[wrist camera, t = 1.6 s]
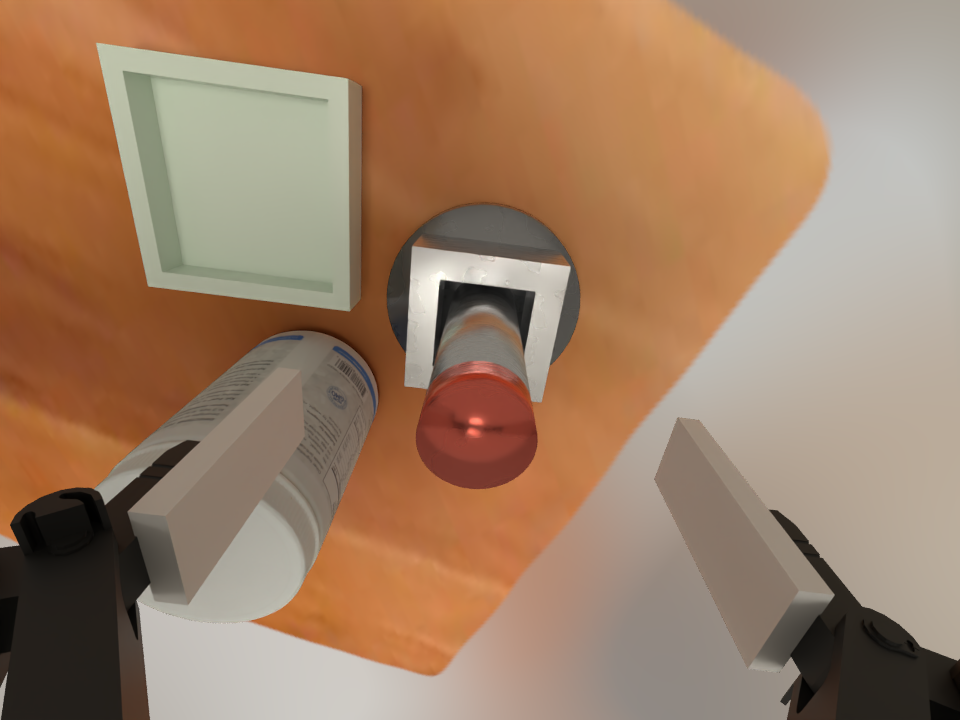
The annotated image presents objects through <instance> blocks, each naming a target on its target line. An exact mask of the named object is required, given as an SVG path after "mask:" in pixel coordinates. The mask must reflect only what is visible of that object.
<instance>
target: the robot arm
mask: <svg viewBox="0 0 960 720" xmlns="http://www.w3.org/2000/svg"><path fill="white" fill-rule="evenodd" d="M304 437H305V430H304V414H303V397H302V381H301V370H297V369H289V368H281V367H278V368H277V369H276V370H275V371H274V372H273V373H272V374H271V375H270V376H269V377H268V378H267V379H266V380H265V381H263V382H262V383H261V384H260V385H259V386H258V387H257V388H256V389H255V390H254V391H253V392H252V393H251V394H250V395H249V396H248V397H247V398H246V399H245V400H244V401H243V402H242V403H240V404H239V405H238V406H237V407H236V408H235V409H234V410H233V411H232V412H231V413H230V414H229V415H228V416H227V417H226V418H225V419H224V420H223V421H222V422H221V423H220V424H219V425H217V426H216V427H215V428H214V429H213V430H212V431H211V432H210V433H209V434H208V435H207V436H206V437H205V438H204V439H203V440H202V441H193V440H186V441H184V442H182V443H180V444H178V445H176V446H174V447H172V448H170V449H168V450H167V451H166V452H164V453H163V454H162V455H161V456H160V457H159V458H158V459H157V460H155V461H154V462H153V463H152V466H149V467H147V468H146V469H145V470H144V471H143V472H142V473H141V474H140V476H139V477H136V478H135V479H134V480H133V481H132V482H131V483H129V484H128V485H127V486H126V487H125V488H124V489H123V490H122V491H120V492H119V493H118V494H117V495H116V496H115V497H114V498H112V499H111V500H110V501H109V502H108V503H107V504H106V505H105V504H104V501H103V498H102V496H101V494H100V492H99V491H96V490H94V489H91V488H71V489H65V490H60V491H57V492H54V493H51V494H49V495H46V496H43V497H41V498H39V499H37V500H36V501H34V502H32V503H30V504H28V505H27V506H25V507H24V508H23V509H22V510H21V511H20V512H18V513H17V514H16V515H15V517H14V519H13V520H12V522H11V524H10V526H11V528H12V530H13V532H14V534H15V537H16V539H17V541H18V543H19V546H12V547H4V548H0V687H1V685H2V683H3V680H4V678H5V676H6V674H7V672H8V675H7V682H6V688H5V696H4V702H3V710H2V716H1V720H150V716H149V706H148V696H147V686H146V675H145V665H144V654H143V644H142V635H141V624H140V613H139V607H138V604H137V601H136V600H137V599H138V598H139V597H140V595H141V594H142V593H143V592H144V590H145V589H146V588H147V587H148V585H150V588H151V591H152V595H153V598H154V601H155V602H164V603H172V604H181V605H189V603H190V602H191V600H192V599H193V598H194V596H195V595H196V593H197V592H198V590H199V589H200V587H201V586H202V584H203V583H204V582H205V580H206V579H207V577H208V576H209V574H210V573H211V571H212V570H213V569H214V567H215V566H216V564H217V563H218V561H219V560H220V558H221V557H222V556H223V554H224V553H225V551H226V550H227V548H228V547H229V545H230V544H231V542H232V541H233V540H234V538H235V537H236V535H237V534H238V532H239V531H240V529H241V528H242V527H243V525H244V524H245V522H246V521H247V519H248V518H249V516H250V515H251V514H252V512H253V511H254V509H255V508H256V506H257V505H258V503H259V502H260V500H261V499H262V498H263V496H264V495H265V493H266V492H267V490H268V489H269V487H270V486H271V485H272V483H273V482H274V480H275V479H276V477H277V476H278V474H279V473H280V472H281V470H282V469H283V467H284V466H285V464H286V463H287V461H288V460H289V458H290V457H291V456H292V454H293V453H294V451H295V450H296V448H297V447H298V445H299V444H300V443H301V441H302V440H303V438H304ZM655 481H656V483H657V486H658V487H659V489H660V492H661V494H662V495H663V497H664V499H665V502H666V504H667V506H668V508H669V510H670V512H671V514H672V516H673V518H674V520H675V522H676V524H677V526H678V528H679V530H680V532H681V534H682V536H683V538H684V540H685V542H686V544H687V546H688V549H689V550H690V553H691V555H692V557H693V559H694V561H695V562H696V565H697V567H698V569H699V571H700V573H701V575H702V577H703V579H704V581H705V583H706V585H707V587H708V589H709V591H710V593H711V595H712V597H713V599H714V601H715V603H716V605H717V607H718V610H719V611H720V613H721V616H722V618H723V620H724V622H725V624H726V626H727V628H728V630H729V632H730V634H731V636H732V638H733V640H734V642H735V644H736V646H737V648H738V650H739V652H740V654H741V656H742V658H743V660H744V662H745V664H746V666H747V668H748V669H753V670H762V671H771V672H780V671H781V669H782V668H783V667H784V666H785V664H786V662H787V661H788V660H789V658H790V657H792V659H793V661H794V662H795V664H796V666H797V667H798V669H799V671H800V672H801V674H800V675H799V676H798V678H797V679H796V680H795V682H794V683H793V684H792V686H791V687H790V688H789V690H788V691H787V692H786V694H785V695H784V696H783V698H782V700H781V702H782V703H783V704H784V705H786V704H787V703H788V702H789V700H791V702H790V707H789V712H788V717H787V720H960V659H959V660H958V661H957V660H954V659H951V658H948V657H946V656H943V655H940V654H938V653H935V652H932V651H930V650H927V649H925V648H922V647H920V646H919V645H918V643H917V642H916V641H915V639H914V638H913V637H912V636H911V635H910V634H909V633H908V632H907V631H906V630H905V629H903V628H902V627H901V626H900V625H899V624H897V623H896V622H894V621H893V620H891V619H890V618H888V617H887V616H885V615H883V614H881V613H879V612H877V611H875V610H872V609H870V608H865V607H862V606H861V605H860V603H859V602H858V601H857V600H856V599H855V597H854V596H853V595H852V594H851V593H850V591H849V590H848V589H847V588H846V586H845V585H844V584H843V583H842V581H841V580H840V579H839V578H838V576H837V575H836V574H835V573H834V572H833V570H832V569H831V568H830V567H829V565H828V564H827V563H826V562H825V561H824V559H823V558H820V556H819V555H820V554H819V553H818V552H817V551H816V550H815V548H814V547H813V546H812V545H811V544H809V541H808V540H807V538H806V537H805V536H804V535H803V534H802V532H801V531H800V530H799V529H798V527H797V526H796V525H795V524H794V523H792V522H791V521H790V520H789V519H787V518H786V517H785V516H784V515H782V514H781V513H780V512H779V511H777V510H769V509H768V508H767V507H766V506H765V504H764V503H763V502H762V501H761V499H760V498H759V497H758V495H757V494H756V493H755V491H754V490H753V489H752V488H751V486H750V485H749V484H748V483H747V481H746V480H745V479H744V477H743V476H742V475H741V473H740V472H739V471H738V469H737V468H736V467H735V466H734V464H733V463H732V462H731V461H730V459H729V458H728V457H727V455H726V454H725V453H724V451H723V450H722V449H721V448H720V446H719V445H718V444H717V442H716V441H715V440H714V439H713V437H712V436H711V435H710V433H709V432H708V431H707V429H706V428H705V427H704V426H703V424H702V423H701V422H700V421H699V420H694V419H686V418H677V421H676V423H675V426H674V429H673V431H672V434H671V437H670V439H669V442H668V444H667V447H666V450H665V452H664V455H663V458H662V460H661V463H660V466H659V469H658V471H657V473H656V476H655Z"/></svg>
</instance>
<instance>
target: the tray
mask: <svg viewBox="0 0 960 720" xmlns="http://www.w3.org/2000/svg"><path fill="white" fill-rule="evenodd" d="M96 44H97V49H98V54H99V58H100V63H101V68H102V72H103V77H104V82H105V86H106V91H107V96H108V101H109V105H110V110H111V115H112V119H113V124H114V129H115V133H116V138H117V143H118V147H119V152H120V157H121V161H122V166H123V171H124V175H125V180H126V185H127V189H128V194H129V199H130V203H131V208H132V213H133V217H134V222H135V227H136V232H137V236H138V241H139V246H140V250H141V255H142V260H143V264H144V269H145V274H146V278H147V283H148V286H149V287H158V288H166V289H174V290H182V291H190V292H198V293H206V294H214V295H222V296H230V297H238V298H246V299H254V300H262V301H270V302H278V303H286V304H294V305H303V306H311V307H319V308H327V309H335V310H343V311H351V309H352V308H353V307H354V306H355V305H356V304H357V303H358V302H359V301H360V300H361V197H362V86H361V85H359V84H357V83H355V82H354V81H352V80H350V79H348V78H341V77H334V76H326V75H319V74H312V73H305V72H298V71H291V70H284V69H277V68H270V67H263V66H256V65H249V64H242V63H235V62H228V61H221V60H214V59H207V58H200V57H193V56H186V55H179V54H172V53H165V52H158V51H151V50H144V49H137V48H129V47H122V46H115V45H108V44H101V43H96Z"/></svg>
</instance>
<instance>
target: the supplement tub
mask: <svg viewBox="0 0 960 720" xmlns="http://www.w3.org/2000/svg"><path fill="white" fill-rule="evenodd" d="M278 367H281V368H289V369H297V370H301V381H302V397H303V414H304V430H305V437H304V438H303V440H302V441H301V443H300V444H299V445H298V447H297V448H296V450H295V451H294V453H293V454H292V456H291V457H290V458H289V460H288V461H287V463H286V464H285V466H284V467H283V469H282V470H281V472H280V473H279V474H278V476H277V477H276V479H275V480H274V482H273V483H272V485H271V486H270V487H269V489H268V490H267V492H266V493H265V495H264V496H263V498H262V499H261V500H260V502H259V503H258V505H257V506H256V508H255V509H254V511H253V512H252V514H251V515H250V516H249V518H248V519H247V521H246V522H245V524H244V525H243V527H242V528H241V529H240V531H239V532H238V534H237V535H236V537H235V538H234V540H233V541H232V542H231V544H230V545H229V547H228V548H227V550H226V551H225V553H224V554H223V556H222V557H221V558H220V560H219V561H218V563H217V564H216V566H215V567H214V569H213V570H212V571H211V573H210V574H209V576H208V577H207V579H206V580H205V582H204V583H203V584H202V586H201V587H200V589H199V590H198V592H197V593H196V595H195V596H194V598H193V599H192V600H191V602H190V603H189V605H181V604H172V603H164V602H155V601H154V598H153V595H152V591H151V588H150V585H148V587H147V588H146V589H145V590H144V592H143V593H142V594H141V595H140V597H139V598H138V599H137V601H139V602H141V603H143V604H145V605H147V606H149V607H151V608H153V609H156V610H158V611H161V612H163V613H166V614H169V615H173V616H177V617H180V618H184V619H188V620H194V621H199V622H208V623H237V622H245V621H250V620H255V619H258V618H261V617H264V616H267V615H269V614H271V613H273V612H275V611H277V610H279V609H281V608H282V607H283V606H285V605H286V604H287V603H288V602H290V601H291V600H292V598H293V597H294V596H295V595H296V594H297V592H298V591H299V589H300V587H301V586H302V583H303V581H304V579H305V577H306V575H307V573H308V572H309V570H310V569H311V568H312V566H313V564H314V562H315V560H316V558H317V555H318V553H319V551H320V549H321V546H322V544H323V541H324V539H325V537H326V535H327V532H328V530H329V527H330V525H331V522H332V520H333V518H334V515H335V513H336V510H337V508H338V505H339V503H340V500H341V498H342V496H343V493H344V491H345V488H346V486H347V483H348V481H349V479H350V476H351V474H352V471H353V469H354V467H355V464H356V462H357V459H358V457H359V454H360V452H361V450H362V447H363V444H364V442H365V439H366V437H367V434H368V432H369V429H370V427H371V425H372V422H373V420H374V417H375V415H376V411H377V406H378V390H377V385H376V381H375V378H374V376H373V374H372V372H371V370H370V368H369V366H368V365H367V363H366V362H365V361H364V359H363V358H362V357H361V356H360V355H359V354H358V353H357V352H356V351H355V350H353V349H352V348H351V347H350V346H348V345H347V344H345V343H344V342H342V341H340V340H338V339H336V338H334V337H332V336H329V335H326V334H323V333H319V332H314V331H289V332H283V333H279V334H276V335H274V336H271V337H269V338H267V339H266V340H264V341H262V342H261V343H260V344H258V345H257V346H256V347H255V348H253V349H252V350H251V351H250V352H248V353H247V354H246V355H245V356H244V357H242V358H241V359H240V360H239V361H238V362H237V363H235V364H234V365H233V366H232V367H231V368H230V369H228V370H227V371H226V372H225V373H224V374H222V375H221V376H220V377H219V378H218V379H216V380H215V381H214V382H213V383H212V384H211V385H209V386H208V387H207V388H206V389H205V390H203V391H202V392H201V393H200V394H199V395H198V396H196V397H195V398H194V399H193V400H192V401H190V402H189V403H188V404H187V405H186V406H184V407H183V408H182V409H181V410H180V411H179V412H177V413H176V414H175V415H174V416H173V417H171V418H170V419H169V420H168V421H167V422H166V423H164V424H163V425H162V426H161V427H160V428H158V429H157V430H156V431H155V432H154V433H152V434H151V435H150V436H149V437H148V438H146V439H145V440H144V441H143V442H142V443H141V444H140V445H138V446H137V447H136V448H135V449H134V450H133V451H132V452H130V453H129V454H128V455H127V456H126V457H125V458H124V459H123V460H122V461H120V462H119V463H118V464H117V465H116V466H115V467H114V468H113V470H112V471H111V472H110V474H109V475H108V477H107V478H105V479H104V480H103V481H102V482H101V483H100V484H99V485H98V486H97V487H96V488H95V489H94V490H96V491H99V492H100V494H101V496H102V498H103V501H104V504H105V505H106V504H107V503H108V502H109V501H110V500H111V499H112V498H114V497H115V496H116V495H117V494H118V493H119V492H120V491H122V490H123V489H124V488H125V487H126V486H127V485H128V484H129V483H131V482H132V481H133V480H134V479H135V478H136V477H139V476H140V474H141V473H142V472H143V471H144V470H145V469H146V468H147V467H149V466H152V463H153V462H154V461H155V460H157V459H158V458H159V457H160V456H161V455H162V454H163V453H164V452H166V451H167V450H168V449H170V448H172V447H174V446H176V445H178V444H180V443H182V442H184V441H186V440H193V441H202V440H203V439H204V438H205V437H206V436H207V435H208V434H209V433H210V432H211V431H212V430H213V429H214V428H215V427H216V426H217V425H219V424H220V423H221V422H222V421H223V420H224V419H225V418H226V417H227V416H228V415H229V414H230V413H231V412H232V411H233V410H234V409H235V408H236V407H237V406H238V405H239V404H240V403H242V402H243V401H244V400H245V399H246V398H247V397H248V396H249V395H250V394H251V393H252V392H253V391H254V390H255V389H256V388H257V387H258V386H259V385H260V384H261V383H262V382H263V381H265V380H266V379H267V378H268V377H269V376H270V375H271V374H272V373H273V372H274V371H275V370H276V369H277V368H278Z"/></svg>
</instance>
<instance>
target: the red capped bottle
mask: <svg viewBox="0 0 960 720" xmlns="http://www.w3.org/2000/svg"><path fill="white" fill-rule="evenodd" d="M416 445H417V449H418V452H419V455H420V457H421V459H422V461H423V462H424V464H425V465H426V466H427V467H428V469H429V470H430V471H431V472H433V473H434V474H435V475H436V476H438V477H439V478H441V479H442V480H444V481H446V482H448V483H450V484H453V485H456V486H459V487H463V488H470V489H486V488H492V487H496V486H500V485H503V484H505V483H507V482H509V481H511V480H513V479H515V478H516V477H518V476H519V475H520V474H521V473H522V472H524V470H525V469H526V468H527V467H528V466H529V464H530V463H531V461H532V460H533V457H534V455H535V452H536V449H537V431H536V425H535V419H534V413H533V407H532V401H531V395H530V389H529V383H528V377H527V371H526V365H525V359H524V353H523V347H522V341H521V335H520V329H519V324H518V318H517V312H516V306H515V300H514V296H513V294H512V292H511V290H510V289H509V288H503V287H496V286H488V285H480V284H472V283H464V282H462V283H461V284H460V285H459V286H458V287H457V289H456V290H455V292H454V294H453V297H452V300H451V304H450V308H449V311H448V315H447V319H446V322H445V326H444V330H443V334H442V337H441V341H440V345H439V348H438V352H437V356H436V359H435V363H434V367H433V371H432V374H431V378H430V382H429V385H428V389H427V393H426V397H425V400H424V404H423V408H422V411H421V415H420V419H419V423H418V426H417V431H416Z"/></svg>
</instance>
